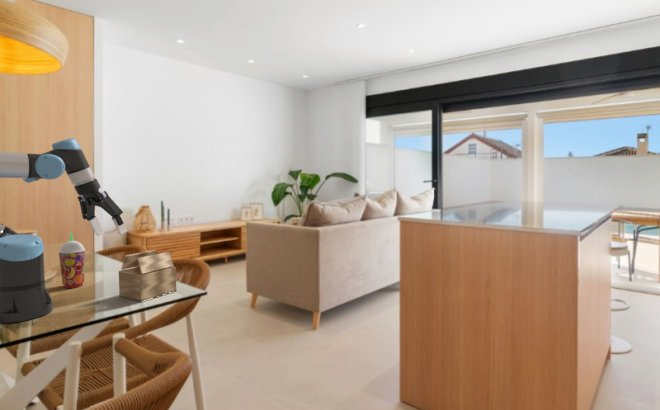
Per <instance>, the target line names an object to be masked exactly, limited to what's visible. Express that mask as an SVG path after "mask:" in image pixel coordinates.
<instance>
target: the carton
mask: <svg viewBox="0 0 660 410" xmlns="http://www.w3.org/2000/svg"><path fill="white" fill-rule="evenodd" d="M173 291H176V292H177V267H176V266H172V267H168V268H164V269H160V270H156V271H152V272H147V273H143V274H142V273H141V270H140V267H139V266H137V267H132V268H128V269H123V270H121V269H120V270H118V292H119V295H118V296H119V297H120V298H124V299H128V300H131V301H135V300H136V301H135V302H139V301H144V300H147V299H150V298H154V297H157V296H160V297H162V296H161V295H163V294H166V293H169V292H173ZM173 293H174V292H173ZM157 298H158V297H157ZM154 299H155V298H154ZM144 302H145V301H144Z"/></svg>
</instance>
